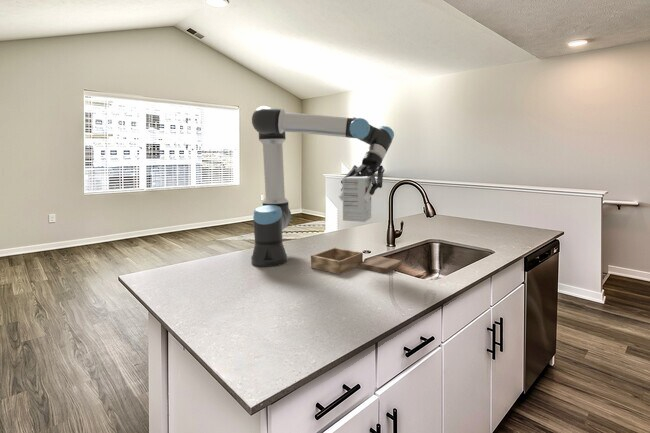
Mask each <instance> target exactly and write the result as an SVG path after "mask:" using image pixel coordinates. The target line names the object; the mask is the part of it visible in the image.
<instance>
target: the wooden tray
mask: <svg viewBox="0 0 650 433" xmlns="http://www.w3.org/2000/svg"><path fill="white" fill-rule="evenodd" d="M363 255H364V254H363V252H361V251H354V250H349V249H345V248H340V247H333V248H331V249H330V248H329V249H327V250H324V251H321V252H318V253H315V254H312V255H310V268H313V269H317V270H320V271H324V272H329V273H332V274H338V275H342V274H344V273H347V272H349V271H351V270H353V269H356V268H359V263H361V262H363V261H364V260H363V258H364V256H363Z"/></svg>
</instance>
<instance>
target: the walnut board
mask: <svg viewBox="0 0 650 433" xmlns="http://www.w3.org/2000/svg"><path fill="white" fill-rule="evenodd" d="M402 262H403V261H402V259H401V260H399V259H395V258H390V257H383V256H378V255H375V256H372V257H370V258H368V259H366V260H363V262H361V263H359V266H358V268H359V269H362V270H368V271H372V272H378V273H381V274H388V273H390V272H392V271H394V270H396V269H397V268H399V267H401V266H403V265H402Z"/></svg>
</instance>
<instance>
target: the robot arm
mask: <svg viewBox="0 0 650 433" xmlns="http://www.w3.org/2000/svg"><path fill="white" fill-rule="evenodd" d="M251 124H252V127H253V128H254V131H256V132H257V133H258V141H259V142H260V143H261V144H262V154H263V155H262V156H263V157H262V158H263V172H264V173H263V175H264V190H265V192H264V193H265V199H264V200H263V201H262V206H258V207H256V208H255V209H254V210H253V215H252V217H253V228H254V229H253V230H254V231H253V233H254V234H253V235H254V247H253V250H252V254H251V257H250V258H251V264H252V265H253V266H257V267H276V266H281V265H284V264H286V263H287V262H288V254H287V253H286V249H285V246H284V244H283V243H284V241H283V240H284V239H283V230H284V229H286V228H287V227H288V226H289V224H290V223H291V219H292V213H291V212H292V211H291V209H290V206H289V200H288V199H287V198H286V196H285V194H286V191H285V174H284V173H285V172H284V152H283V150H284V149H283V147H284V146H283V143H284V142H286V138H287V137H286V132H288V133H296V134H297V133H298V134H307V135H316V136H317V135H319V136H329V137H330V136H331V137H338V138H339V137H340V138H348V139H357V140H359V141H361V142H362V143H363V142H364V143H365V144H368V145H369V147H368V149H367V150H366V152H365V155H364V156H363V158H362V161H361V164H360V165H359V166H357V165H355V164H354V165H353V166H352V168H351V170H349V172H348V173H346V175H345V176H344V177H343V178H346V177H371V185H370V186H369V188H368V190H367V192H366V194H365V196H364V200H365V201H366V203H368V202H369V200H370V197H371V198H372V196H373V195H374V194H375V191H376V190H377V189H378V188H379V189H382V188H383V179H384V172H385V168H384V166H383V164H382V162H383V161H384V159H385V157H386V154H387V152H388V150H389V148H390V146H391V145H392V143H393V141H394V140H393V139H394V137H395V133H394V130H393V129H392V128H391V127H389V126H385V125H382V126H379V127H377V126H376V127H375V126H373V125H372V124H370V123H369V122H368V120H367V119H365V118H362V117H350V118H349V117H343V116H333V115H321V114H310V113H309V114H308V113H301V112H300V113H299V112H289V111H288V112H287V111H285V110H284V109H283V108H277V107H271V106H268V105H262V106H259V107H258V108H256V109H255V110H254V112H253V113H252V116H251ZM376 172H377V176H375V173H376ZM376 178H377V180H376ZM340 183H341V184H342V180H340ZM338 198H339V199H340V201H342V202H343V186H342V187H341V188H340V193H339V195H338Z"/></svg>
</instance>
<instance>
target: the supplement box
mask: <svg viewBox="0 0 650 433" xmlns="http://www.w3.org/2000/svg"><path fill="white" fill-rule="evenodd" d="M341 181H342V183H341V185H342V187H343V201H342V221H345V222H346V221H347V222H361V223H365V222H367V221H369V220H371V219H372V196H371V197H370V200H369V202H368V203H366V201H365V200H364V196H365V194H366V192H367V190H368V188H369V186H370V185H372V182H371V177H368V176H363V177H346V178H344V177H342V179H341Z"/></svg>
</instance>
